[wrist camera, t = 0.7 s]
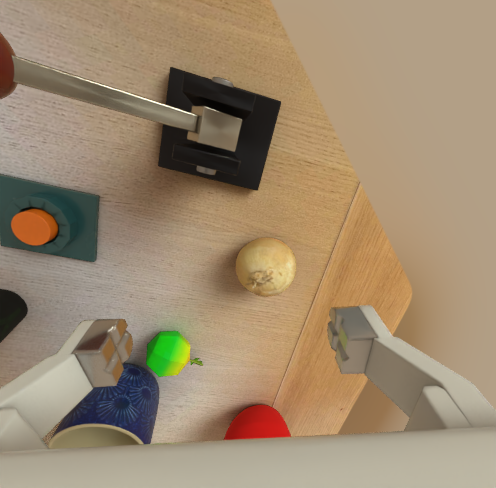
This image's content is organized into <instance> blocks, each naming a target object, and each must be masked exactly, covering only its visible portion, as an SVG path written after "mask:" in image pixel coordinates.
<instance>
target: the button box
mask: <svg viewBox="0 0 496 488" xmlns="http://www.w3.org/2000/svg"><path fill="white" fill-rule="evenodd" d="M29 209H40V210H43V211H46V212H48V213H49V214H50V215H52V216H53V218H54V219H55V220H56V222H57V224H58V233H57V235H56V236H55V238H53V239H52V240H50V241H48V242H46V243H44V244H42V245H29V244H26V243H24V242H22V241H21V240H20V239H18V238H17V237H16V236H15V234H14V233H13V231H12V228H11V221H12V219H13V217H14V216H15V215H16V214H18V213H20V212H23V211H26V210H29ZM98 212H99V196H98V195H94V194H89V193H85V192H80V191H75V190H71V189H66V188H62V187H57V186H53V185H48V184H43V183H39V182H34V181H30V180H25V179H21V178H16V177H12V176H7V175H2V174H0V241H1V246H6V247H12V248H17V249H23V250H29V251H34V252H40V253H45V254H51V255H57V256H62V257H68V258H74V259H79V260H85V261H91V262H95V261H96V255H97V233H98Z"/></svg>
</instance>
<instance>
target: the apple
mask: <svg viewBox="0 0 496 488" xmlns="http://www.w3.org/2000/svg"><path fill="white" fill-rule="evenodd" d="M198 359H199V358H195V359H194V360H190V344H189V342H188V341H187V340H186V339H185V338H184V337H183V336H182V335H181V334H180V333H179V332H178V331H165V332H160V333H159V334H158V335H157V336H156V337H155V338H154V339H153V340H152V341H151V342H149V343H148V344H147V358H146V364H147V365H148V366H149V367H150V368H151V369H152V370H153V371H154V372H155V373H156V374H157V375H158V376H159V377H162V376H172V375H178V374H179V373H180V371H181V370H182V369H183V368H184V366H185V365H186V364H187V363H188V362H189V361H191V365H192V364H193V363H196V364H198V365H201V366H203V364H202V361H197V360H198Z"/></svg>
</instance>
